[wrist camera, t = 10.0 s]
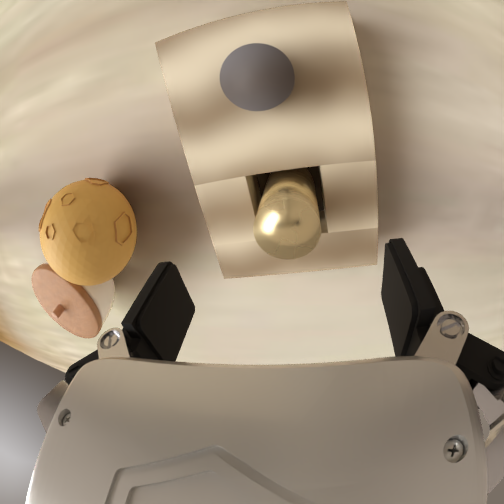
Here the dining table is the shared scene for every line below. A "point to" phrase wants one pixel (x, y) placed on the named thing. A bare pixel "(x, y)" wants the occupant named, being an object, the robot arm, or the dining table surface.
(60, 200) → the stress ball
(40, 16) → the dining table surface
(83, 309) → the lidded jar
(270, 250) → the brass cylinder
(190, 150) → the jig
